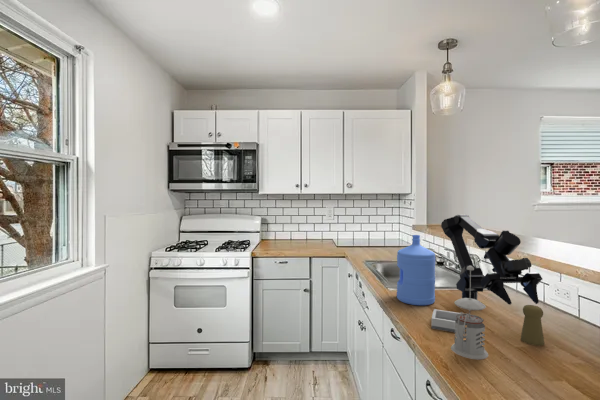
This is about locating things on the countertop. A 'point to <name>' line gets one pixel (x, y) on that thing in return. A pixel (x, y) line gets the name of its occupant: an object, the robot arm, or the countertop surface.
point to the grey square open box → (444, 320)
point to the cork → (532, 325)
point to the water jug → (416, 274)
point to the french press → (469, 329)
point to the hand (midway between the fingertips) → (524, 303)
